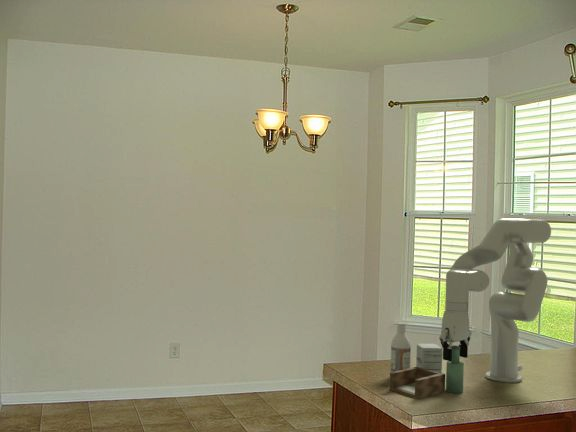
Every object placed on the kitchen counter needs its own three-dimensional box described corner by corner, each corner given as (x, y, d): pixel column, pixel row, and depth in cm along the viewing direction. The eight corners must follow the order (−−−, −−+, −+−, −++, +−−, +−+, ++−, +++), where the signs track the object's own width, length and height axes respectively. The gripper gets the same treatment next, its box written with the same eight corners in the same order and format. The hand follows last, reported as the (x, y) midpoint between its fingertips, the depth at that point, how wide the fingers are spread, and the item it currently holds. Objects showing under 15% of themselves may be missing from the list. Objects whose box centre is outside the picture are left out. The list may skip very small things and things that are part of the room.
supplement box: (415, 378, 221) (416, 343, 221) (435, 378, 222) (436, 343, 222) (421, 383, 214) (422, 347, 214) (442, 383, 214) (442, 347, 214)
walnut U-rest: (416, 383, 213) (416, 366, 213) (444, 392, 204) (445, 374, 204) (389, 390, 204) (390, 372, 204) (418, 399, 195) (419, 380, 195)
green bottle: (452, 387, 210) (453, 344, 210) (466, 391, 205) (467, 346, 205) (442, 390, 206) (443, 345, 206) (456, 394, 202) (457, 348, 202)
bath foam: (399, 381, 215) (401, 325, 215) (386, 377, 221) (387, 322, 221) (413, 379, 219) (415, 323, 219) (400, 375, 225) (401, 320, 225)
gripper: (462, 303, 214) (460, 353, 214) (431, 307, 203) (430, 359, 203) (481, 306, 209) (479, 357, 208) (450, 310, 197) (449, 364, 197)
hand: (455, 358), depth 206 cm, fingers open, 8 cm apart
